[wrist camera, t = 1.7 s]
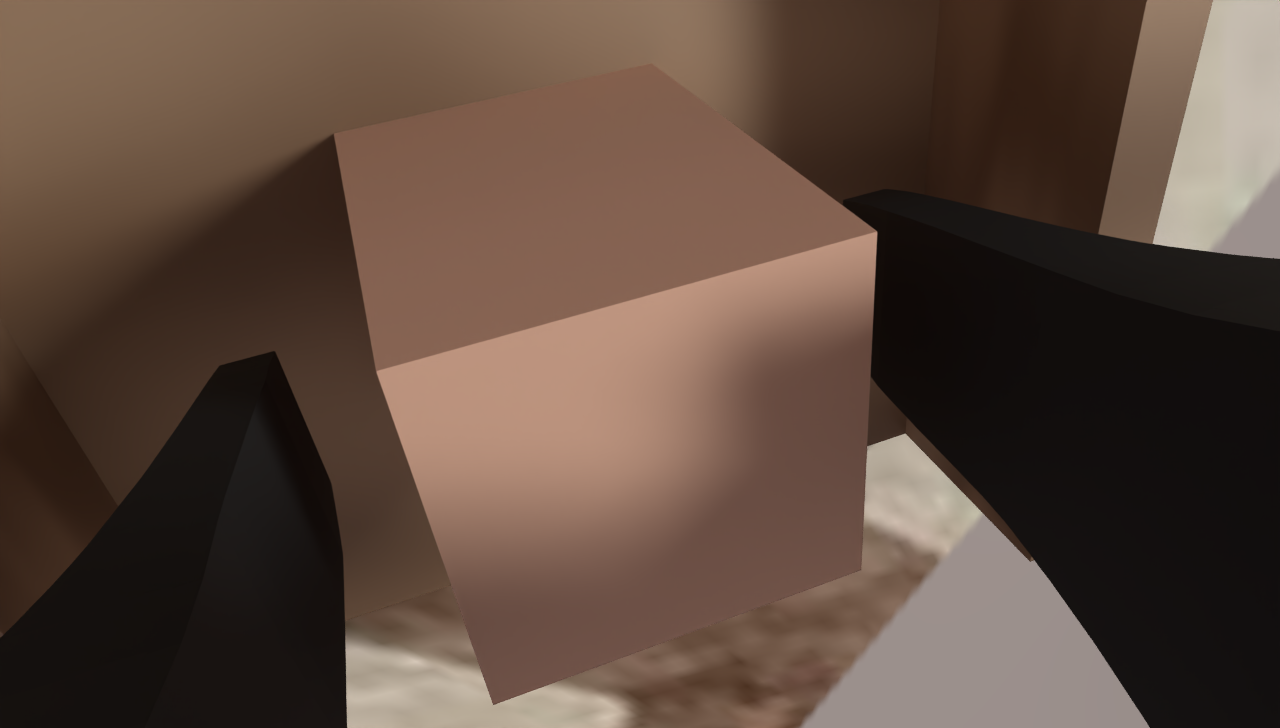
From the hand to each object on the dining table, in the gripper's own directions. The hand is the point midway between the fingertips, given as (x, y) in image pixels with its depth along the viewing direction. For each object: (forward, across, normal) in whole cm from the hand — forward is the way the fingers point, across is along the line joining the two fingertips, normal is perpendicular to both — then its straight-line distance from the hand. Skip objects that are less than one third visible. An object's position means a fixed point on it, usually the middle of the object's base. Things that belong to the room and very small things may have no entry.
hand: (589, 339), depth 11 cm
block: (+3, 0, 0) cm, 3 cm away
